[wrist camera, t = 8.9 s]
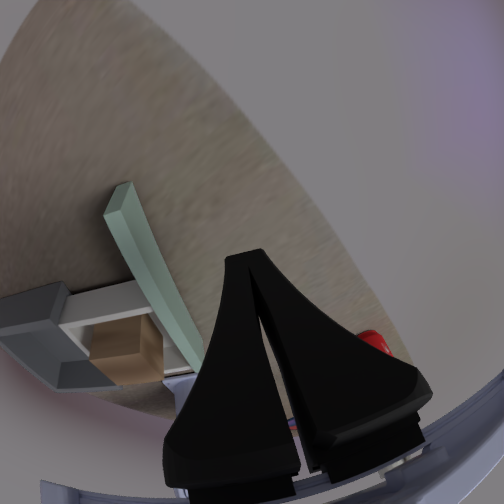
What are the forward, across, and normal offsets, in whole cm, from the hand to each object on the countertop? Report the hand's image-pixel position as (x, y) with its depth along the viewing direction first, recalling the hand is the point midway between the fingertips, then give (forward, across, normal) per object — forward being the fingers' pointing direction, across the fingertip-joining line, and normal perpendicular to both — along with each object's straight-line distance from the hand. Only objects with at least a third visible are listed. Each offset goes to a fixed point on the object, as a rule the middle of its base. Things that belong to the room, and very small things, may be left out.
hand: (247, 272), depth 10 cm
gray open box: (+8, +18, +10) cm, 23 cm away
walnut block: (+8, +10, +10) cm, 17 cm away
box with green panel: (+8, +10, +7) cm, 14 cm away
